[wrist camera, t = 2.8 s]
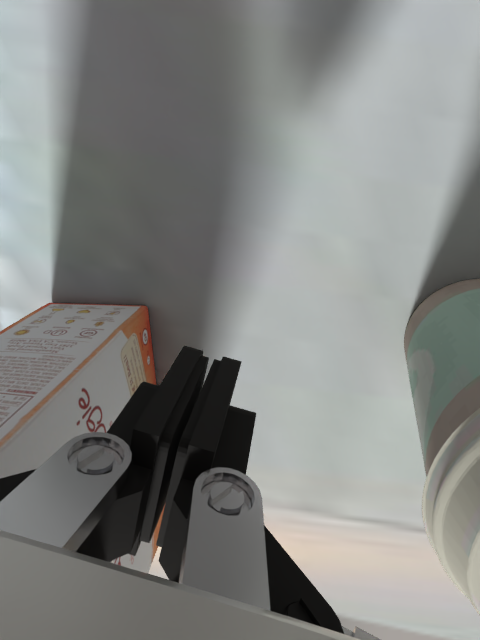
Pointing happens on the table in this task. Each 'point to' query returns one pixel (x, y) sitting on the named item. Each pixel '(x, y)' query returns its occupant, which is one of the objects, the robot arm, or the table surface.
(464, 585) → the coffee cup
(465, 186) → the table surface
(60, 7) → the table surface
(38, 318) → the cracker box
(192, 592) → the robot arm
